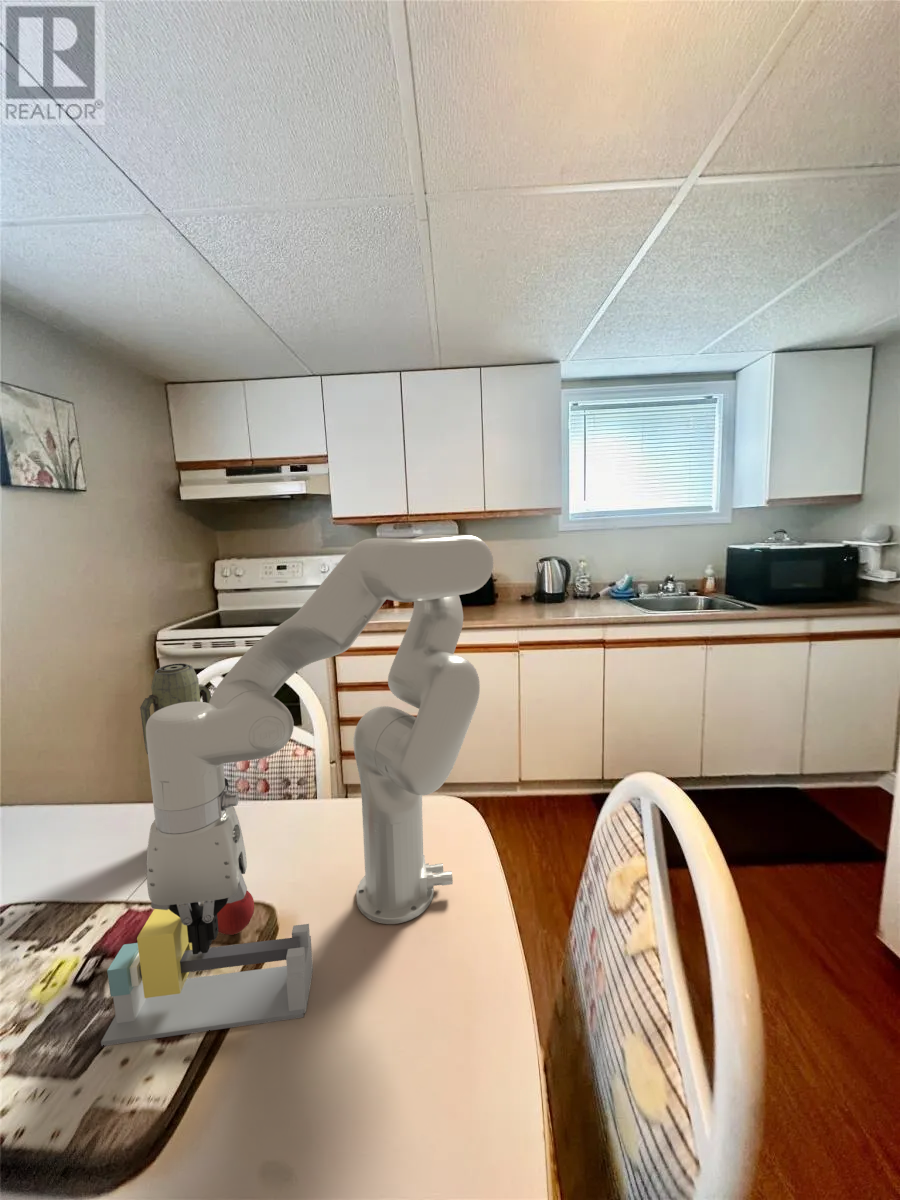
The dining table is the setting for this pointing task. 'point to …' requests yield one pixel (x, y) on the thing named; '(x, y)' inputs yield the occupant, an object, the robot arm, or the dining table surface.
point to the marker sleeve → (162, 953)
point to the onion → (236, 915)
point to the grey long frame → (213, 990)
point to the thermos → (172, 690)
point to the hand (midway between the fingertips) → (204, 943)
